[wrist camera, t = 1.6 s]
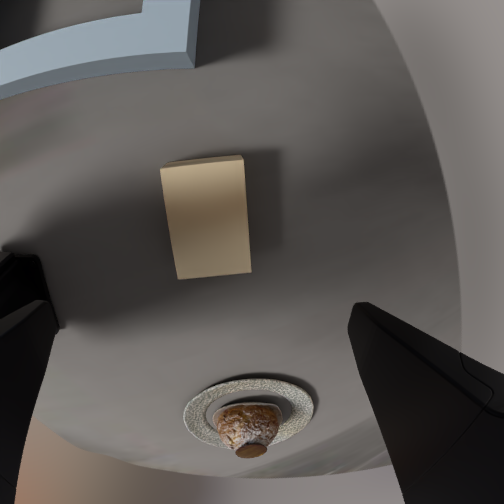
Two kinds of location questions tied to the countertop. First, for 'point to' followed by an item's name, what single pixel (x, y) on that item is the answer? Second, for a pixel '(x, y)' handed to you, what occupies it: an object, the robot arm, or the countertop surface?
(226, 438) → the pastry
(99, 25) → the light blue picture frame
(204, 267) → the block
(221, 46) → the countertop surface
